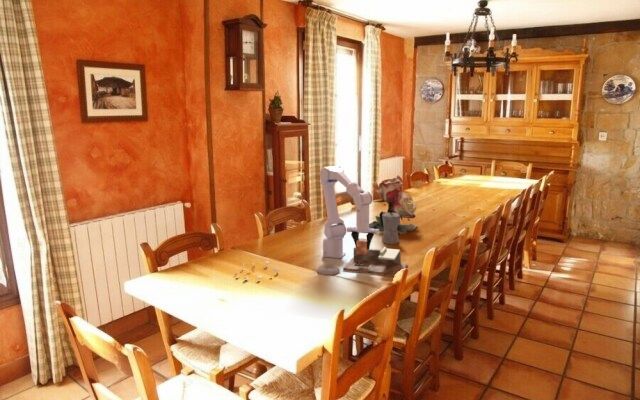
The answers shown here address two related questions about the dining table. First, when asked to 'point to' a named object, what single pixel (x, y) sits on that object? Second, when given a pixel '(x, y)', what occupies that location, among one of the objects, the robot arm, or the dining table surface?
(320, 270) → the saucer
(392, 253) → the sliding lid
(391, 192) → the rose bouquet
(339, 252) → the robot arm
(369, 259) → the puzzle board
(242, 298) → the dining table surface
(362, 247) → the block
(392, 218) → the coffeepot
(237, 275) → the game piece set
